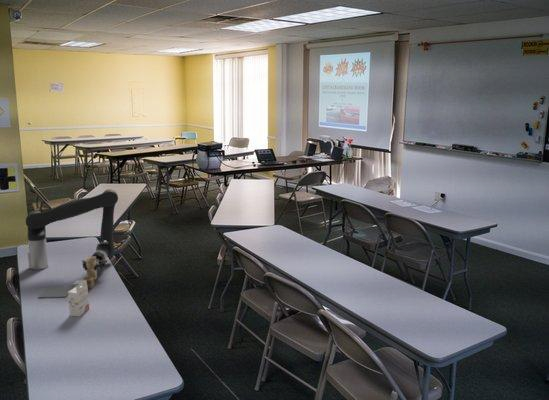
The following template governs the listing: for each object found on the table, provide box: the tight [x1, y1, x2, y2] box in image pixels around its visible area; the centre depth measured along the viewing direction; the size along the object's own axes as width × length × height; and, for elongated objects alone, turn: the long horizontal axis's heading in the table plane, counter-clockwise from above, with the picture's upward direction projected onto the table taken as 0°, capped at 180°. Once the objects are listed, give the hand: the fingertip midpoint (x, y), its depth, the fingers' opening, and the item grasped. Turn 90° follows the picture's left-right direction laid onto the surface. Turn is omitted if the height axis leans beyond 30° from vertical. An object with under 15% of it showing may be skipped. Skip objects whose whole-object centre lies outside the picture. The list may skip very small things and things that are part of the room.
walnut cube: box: [81, 276, 95, 290], centre depth 251 cm, size 5×5×5 cm
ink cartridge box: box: [67, 280, 90, 317], centre depth 221 cm, size 9×5×15 cm, turn 168°
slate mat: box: [38, 285, 73, 299], centre depth 244 cm, size 13×13×1 cm
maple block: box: [85, 255, 98, 281], centre depth 258 cm, size 4×4×12 cm
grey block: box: [72, 279, 85, 288], centre depth 243 cm, size 5×5×6 cm
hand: (90, 268), depth 255 cm, fingers closed on maple block, 4 cm apart
